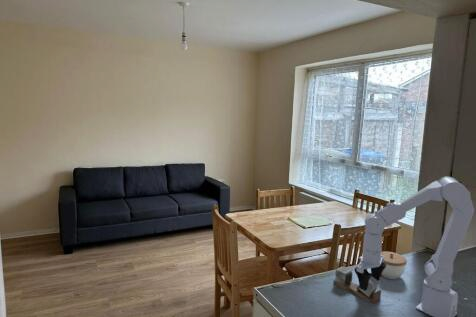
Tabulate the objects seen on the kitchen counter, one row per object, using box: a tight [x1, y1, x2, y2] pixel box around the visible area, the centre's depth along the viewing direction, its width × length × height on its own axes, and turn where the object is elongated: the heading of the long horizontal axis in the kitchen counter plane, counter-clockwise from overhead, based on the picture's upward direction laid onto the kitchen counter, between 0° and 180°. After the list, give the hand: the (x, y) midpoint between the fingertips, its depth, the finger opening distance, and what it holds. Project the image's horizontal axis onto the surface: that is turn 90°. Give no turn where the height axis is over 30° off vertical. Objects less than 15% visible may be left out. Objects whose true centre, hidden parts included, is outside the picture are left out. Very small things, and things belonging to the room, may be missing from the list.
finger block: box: [358, 276, 381, 297], centre depth 112 cm, size 4×4×5 cm
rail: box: [333, 266, 382, 304], centre depth 115 cm, size 16×4×6 cm, turn 38°
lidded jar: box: [381, 250, 408, 280], centre depth 127 cm, size 11×11×9 cm
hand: (369, 285), depth 112 cm, fingers open, 7 cm apart
